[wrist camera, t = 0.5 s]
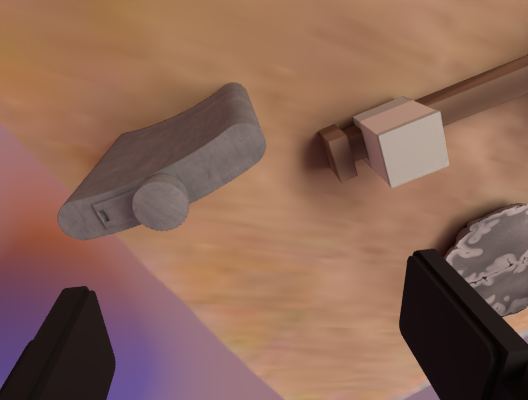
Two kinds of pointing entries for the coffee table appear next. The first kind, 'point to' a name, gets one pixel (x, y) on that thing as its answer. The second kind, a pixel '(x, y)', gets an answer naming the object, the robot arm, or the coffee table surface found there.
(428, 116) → the block
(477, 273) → the brain slice
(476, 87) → the rail
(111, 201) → the hip flask
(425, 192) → the coffee table surface
